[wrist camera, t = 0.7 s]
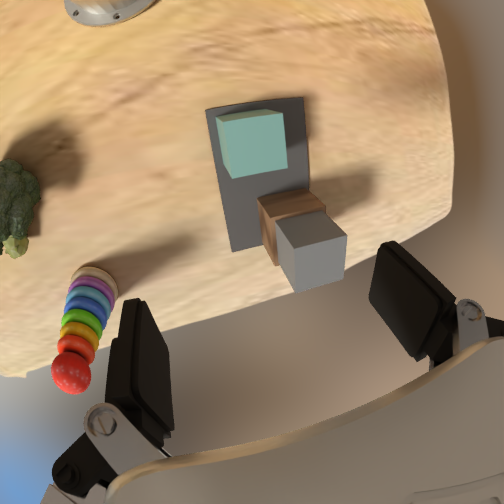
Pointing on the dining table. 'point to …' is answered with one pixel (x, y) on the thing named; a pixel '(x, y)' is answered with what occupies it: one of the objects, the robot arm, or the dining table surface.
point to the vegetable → (16, 206)
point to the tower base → (283, 214)
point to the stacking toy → (82, 327)
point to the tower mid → (310, 250)
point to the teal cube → (252, 142)
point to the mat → (262, 184)
